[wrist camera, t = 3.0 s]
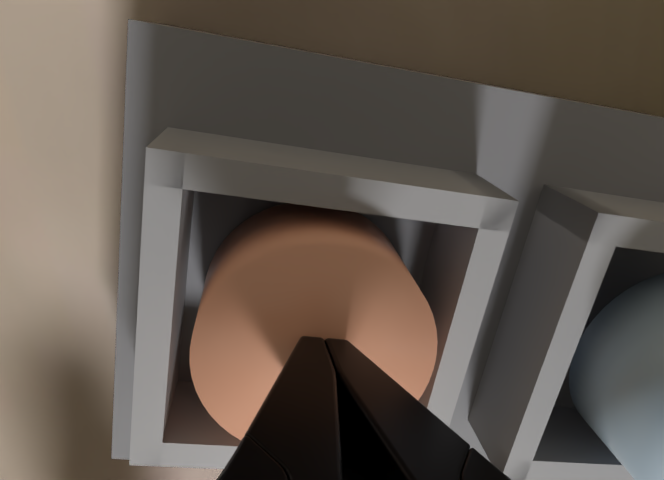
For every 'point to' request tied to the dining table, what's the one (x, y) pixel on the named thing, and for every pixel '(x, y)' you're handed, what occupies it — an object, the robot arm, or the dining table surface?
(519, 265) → the button panel
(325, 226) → the terracotta button
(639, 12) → the dining table surface
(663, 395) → the slate button
